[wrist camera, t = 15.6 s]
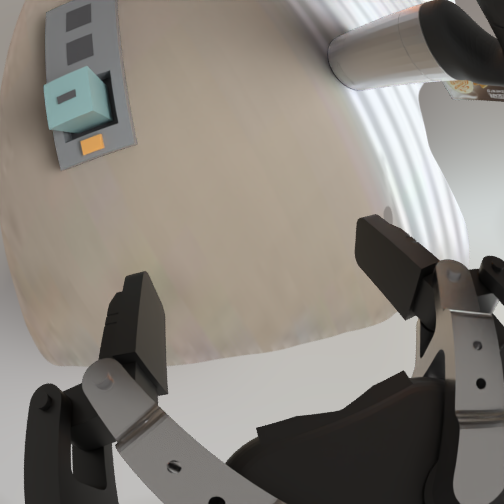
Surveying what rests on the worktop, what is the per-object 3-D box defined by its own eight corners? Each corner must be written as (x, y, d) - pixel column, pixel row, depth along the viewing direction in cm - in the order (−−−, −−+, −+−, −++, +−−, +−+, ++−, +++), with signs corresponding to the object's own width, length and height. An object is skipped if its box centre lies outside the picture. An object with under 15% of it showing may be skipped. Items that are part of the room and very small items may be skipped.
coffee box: (458, 83, 37) (518, 85, 23) (452, 100, 38) (516, 104, 24) (438, 50, 33) (501, 45, 19) (430, 66, 34) (498, 62, 20)
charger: (107, 86, 24) (86, 65, 16) (113, 120, 26) (92, 110, 18) (72, 99, 23) (42, 85, 15) (78, 133, 25) (48, 129, 17)
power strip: (53, 20, 17) (44, 10, 14) (117, -4, 19) (113, -17, 16) (69, 168, 26) (59, 171, 23) (137, 144, 28) (133, 143, 25)
